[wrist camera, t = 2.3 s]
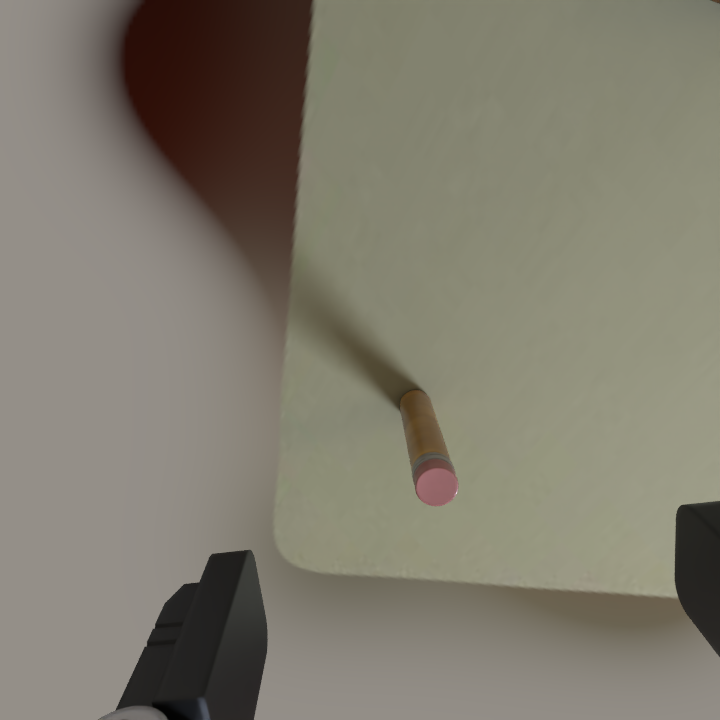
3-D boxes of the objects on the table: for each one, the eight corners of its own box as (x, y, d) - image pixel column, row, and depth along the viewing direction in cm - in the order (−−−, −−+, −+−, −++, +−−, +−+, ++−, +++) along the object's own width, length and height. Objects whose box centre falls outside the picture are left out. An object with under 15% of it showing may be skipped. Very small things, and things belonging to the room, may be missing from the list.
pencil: (395, 414, 32) (409, 500, 23) (405, 385, 31) (423, 462, 23) (425, 423, 32) (450, 512, 23) (435, 394, 31) (465, 474, 23)
